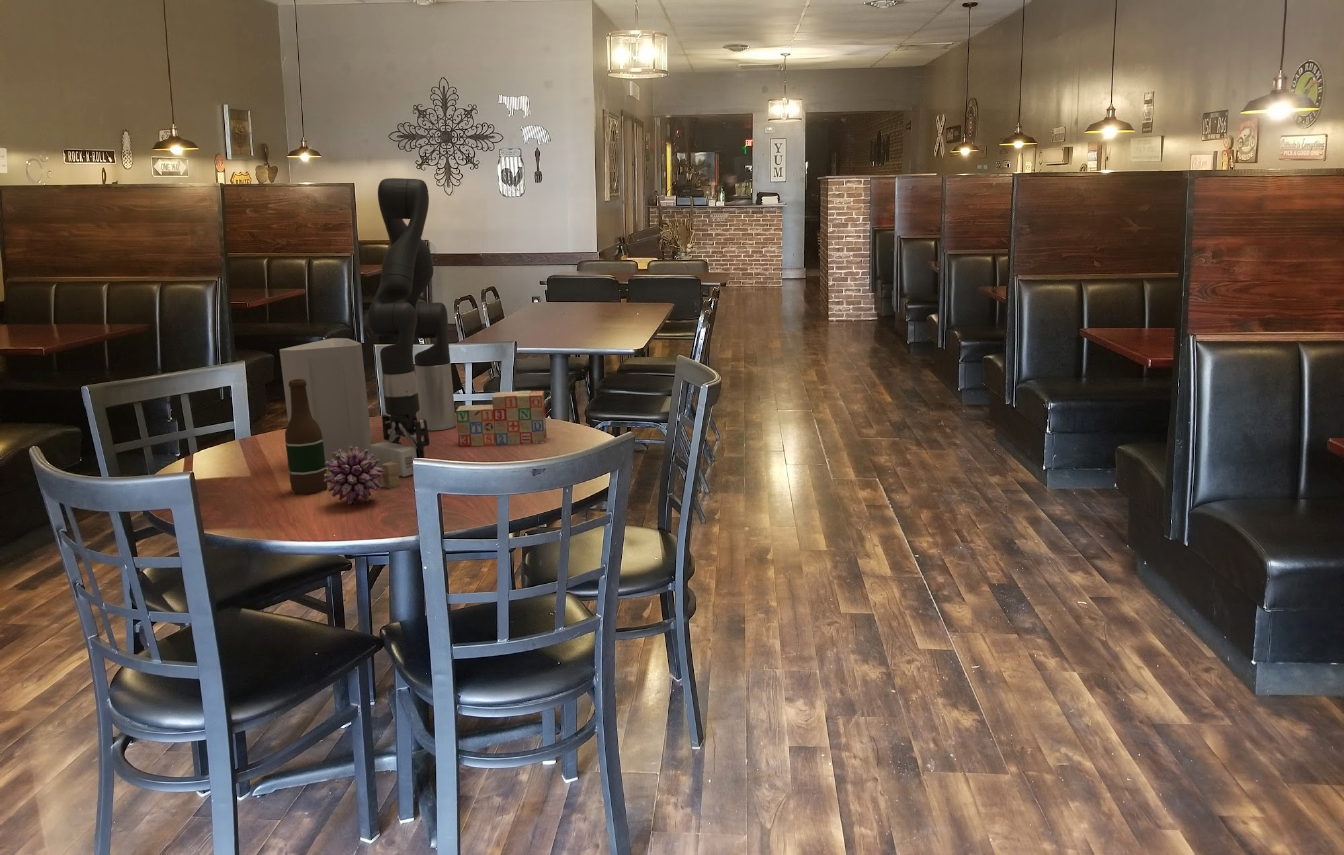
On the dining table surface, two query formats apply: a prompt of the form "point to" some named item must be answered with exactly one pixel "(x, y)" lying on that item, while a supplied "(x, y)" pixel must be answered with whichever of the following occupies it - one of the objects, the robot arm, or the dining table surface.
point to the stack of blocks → (503, 420)
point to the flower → (353, 475)
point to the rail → (384, 473)
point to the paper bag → (332, 391)
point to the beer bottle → (304, 444)
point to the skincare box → (394, 456)
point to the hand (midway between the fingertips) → (408, 461)
